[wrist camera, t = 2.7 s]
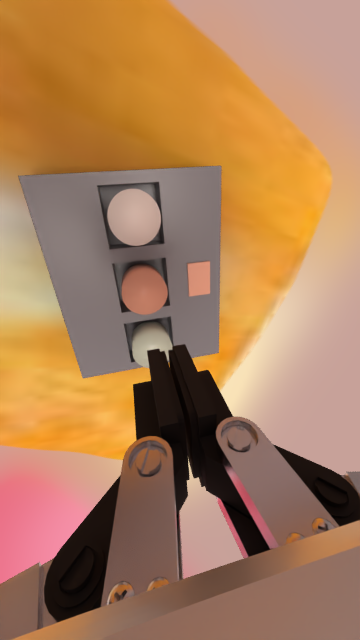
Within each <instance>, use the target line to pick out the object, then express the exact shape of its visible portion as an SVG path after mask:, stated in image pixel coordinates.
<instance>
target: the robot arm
mask: <svg viewBox="0 0 360 640" xmlns="http://www.w3.org/2000/svg"><path fill="white" fill-rule="evenodd" d="M168 354H169V364H170V367H169V364H168V360H167V357H166V354H165V351H161V352H160V349H153V350H147V355H148V362H149V368H150V375H151V381H148V382H143V383H138V384H133V390H134V406H135V422H136V439H137V441H135V442H134V443H133V444H132V445H131V446H130V447H129V448H128V450H127V451H126V453H125V456H124V459H123V465H122V472H121V475H120V477H119V478H118V479H117V480H116V481H115V483H114V484H113V485H112V486H111V488H110V489H109V490H108V491H107V493H106V494H105V495H104V496H103V497H102V499H101V500H100V501H99V502H98V504H97V505H96V506H95V507H94V509H93V510H92V511H91V512H90V514H89V515H88V516H87V517H86V518H85V519H84V521H83V522H82V523H81V524H80V526H79V527H78V528H77V529H76V531H75V532H74V533H73V534H72V535H71V537H70V538H69V539H68V540H67V542H66V543H65V544H64V545H63V546H62V548H61V549H60V551H59V552H58V553H57V555H56V556H55V558H54V559H52V560H50V561H48V562H47V563H45V564H43V565H41V564H40V563H37V564H36V565H34V566H32V567H30V568H29V569H27V570H25V571H23V572H21V573H19V574H18V575H16V576H14V577H12V578H10V579H9V580H7V581H5V582H3V583H2V584H0V640H360V472H346V474H345V475H339V474H337V473H336V472H334V471H332V470H330V469H328V468H325V467H323V466H321V465H319V464H316V463H314V462H312V461H310V460H307V459H305V458H303V457H300V456H298V455H296V454H294V453H291V452H289V451H287V450H285V449H282V448H280V447H278V446H276V445H273V444H272V443H271V442H270V441H269V439H268V438H267V437H266V436H265V434H264V433H263V432H262V431H261V430H260V428H259V427H257V425H256V424H255V423H253V422H252V421H250V420H248V419H245V418H242V417H233V416H232V414H231V412H230V410H229V408H228V406H227V404H226V402H225V401H224V399H223V397H222V395H221V393H220V391H219V389H218V387H217V385H216V383H215V381H214V379H213V377H212V375H211V374H210V372H209V371H208V370H205V371H200V372H197V369H196V367H195V365H194V363H193V361H192V358H191V356H190V354H189V352H188V349H187V347H186V345H185V344H182V345H176V346H173V347H172V350H168ZM188 459H189V462H190V466H191V470H192V474H193V477H194V478H197V477H199V479H200V483H201V487H203V486H205V487H206V491H208V492H210V493H211V494H213V495H215V496H216V499H217V502H218V504H219V506H220V509H221V511H222V513H223V515H224V517H225V519H226V522H227V524H228V525H229V528H230V530H231V532H232V534H233V536H234V538H235V541H236V543H237V545H238V547H239V549H240V551H241V553H242V556H243V558H244V559H242V560H239V561H236V562H233V563H230V564H227V565H224V566H221V567H218V568H215V569H212V570H209V571H206V572H203V573H200V574H197V575H194V576H191V577H188V578H185V579H183V564H182V546H181V529H180V512H179V511H180V509H181V507H182V505H183V504H184V502H185V500H186V498H187V496H188V492H187V480H189V467H188Z"/></svg>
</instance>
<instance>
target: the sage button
mask: <svg viewBox="0 0 360 640" xmlns="http://www.w3.org/2000/svg"><path fill="white" fill-rule="evenodd" d="M131 340H132V351H133V357H134V360H135V361H136V362H137V363H138V364H139V365H141V366H143V367H146V368H149V362H148V355H147V350H153V349H160V352H161V351H165V354H166V357H167V360H169V354H168V350H172V347H173V346H172V343H171V340H170V338H169V335H168V332H167V330H166V328H165V327H164V326H163V325H162V324H160V323H158V322H155V321H147V322H144V323H141V324H140V325H138V326H137V327H136V328H135V329H134V331H133V333H132V337H131Z"/></svg>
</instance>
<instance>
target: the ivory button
mask: <svg viewBox="0 0 360 640" xmlns="http://www.w3.org/2000/svg"><path fill="white" fill-rule="evenodd" d="M107 218H108V223H109V226H110V229H111V231H112V232H113V234H114V235H115V236H116V237H117V238H118V239H119V240H120V241H122V242H123V243H125V244H128V245H132V246H140V245H144V244H146V243H148V242H150V241H151V240H152V239H153V238H154V237H155V236H156V235H157V233H158V231H159V228H160V224H161V214H160V210H159V207H158V205H157V203H156V202H155V200H154V199H153V198H152V197H151V196H150V195H149V194H147V193H146V192H144V191H142V190H139V189H126V190H123V191H121V192H119V193H118V194H117V195H115V196H114V198H113V199H112V200H111V202H110V204H109V207H108V213H107Z"/></svg>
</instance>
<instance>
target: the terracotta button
mask: <svg viewBox="0 0 360 640" xmlns="http://www.w3.org/2000/svg"><path fill="white" fill-rule="evenodd" d="M167 295H168V290H167V286H166V284H165V282H164V280H163V278H162V276H161V275H160V273H159V272H158V270H157V269H155V268H154V267H152V266H150V265H147V264H137V265H134V266H132V267H130V268H129V269H128V270H127V271H126V272H125V273H124V275H123V278H122V299H123V302H124V304H125V305H126V306H127V308H128V309H130V310H131V311H132V312H134V313H137V314H142V315H147V314H152V313H154V312H156V311H158V310H159V309H161V308H162V306H163V305H164V304H165V302H166V299H167Z"/></svg>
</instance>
